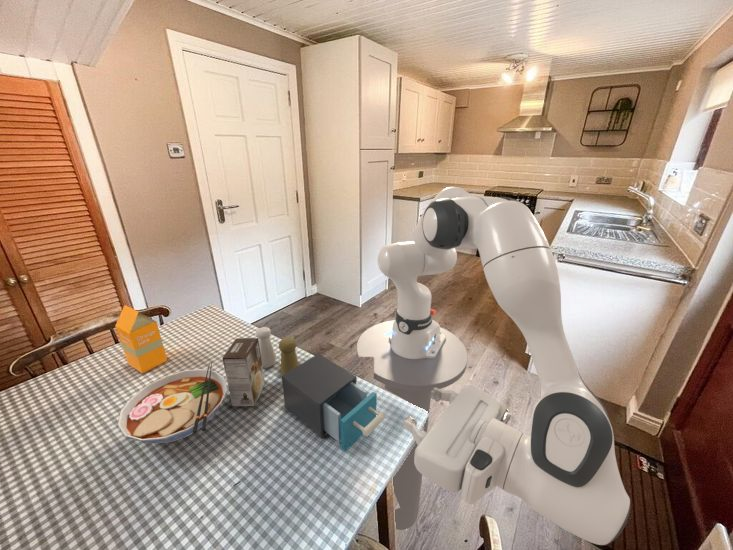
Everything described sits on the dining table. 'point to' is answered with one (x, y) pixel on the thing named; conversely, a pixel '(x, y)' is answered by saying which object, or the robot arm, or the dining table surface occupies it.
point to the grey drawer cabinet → (313, 389)
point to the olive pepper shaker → (288, 355)
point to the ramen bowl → (173, 406)
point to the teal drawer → (351, 415)
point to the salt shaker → (266, 347)
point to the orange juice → (140, 340)
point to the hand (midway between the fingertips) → (419, 405)
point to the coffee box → (244, 371)
